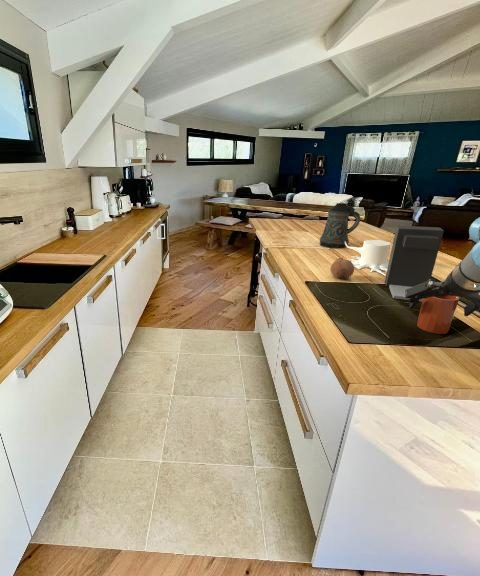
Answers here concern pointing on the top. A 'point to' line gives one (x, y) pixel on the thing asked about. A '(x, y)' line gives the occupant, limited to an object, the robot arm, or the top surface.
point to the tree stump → (372, 255)
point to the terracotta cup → (437, 313)
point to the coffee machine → (412, 258)
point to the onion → (342, 268)
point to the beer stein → (338, 226)
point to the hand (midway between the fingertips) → (437, 308)
